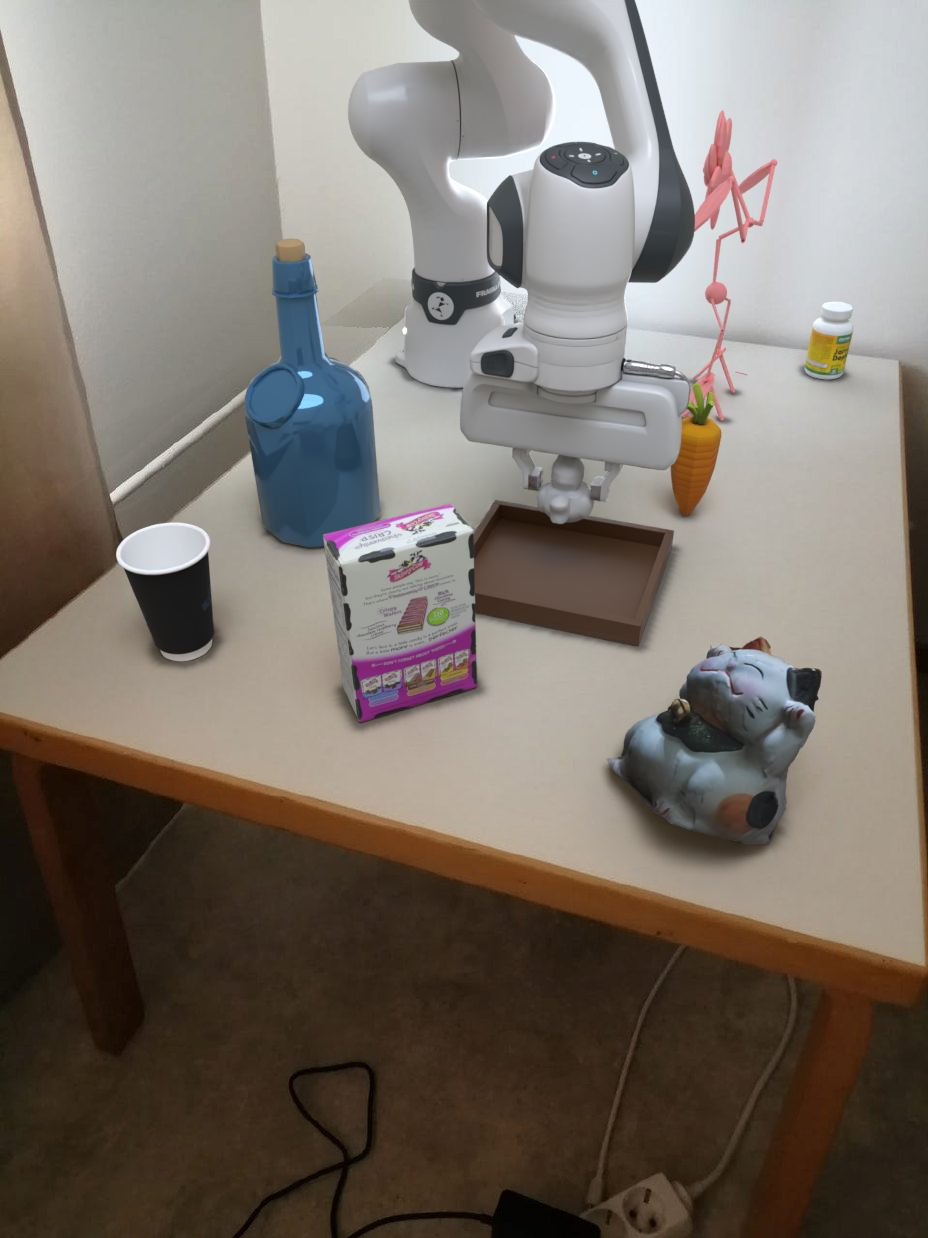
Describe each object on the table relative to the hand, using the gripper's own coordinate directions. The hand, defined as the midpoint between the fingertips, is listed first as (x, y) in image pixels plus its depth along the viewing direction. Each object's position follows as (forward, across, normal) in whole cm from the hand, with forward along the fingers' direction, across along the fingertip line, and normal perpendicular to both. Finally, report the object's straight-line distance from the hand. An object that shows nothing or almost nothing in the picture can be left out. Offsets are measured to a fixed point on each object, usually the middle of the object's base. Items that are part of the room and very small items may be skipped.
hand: (565, 492), depth 93 cm
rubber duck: (+3, 0, 0) cm, 3 cm away
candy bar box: (+10, +8, +21) cm, 25 cm away
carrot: (+10, -10, -16) cm, 21 cm away
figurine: (+10, -4, -46) cm, 47 cm away
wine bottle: (+10, +28, -2) cm, 30 cm away
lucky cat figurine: (+10, -18, +24) cm, 32 cm away
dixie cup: (+10, +30, +22) cm, 39 cm away
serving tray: (+10, 0, 0) cm, 10 cm away
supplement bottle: (+10, -22, -61) cm, 66 cm away
